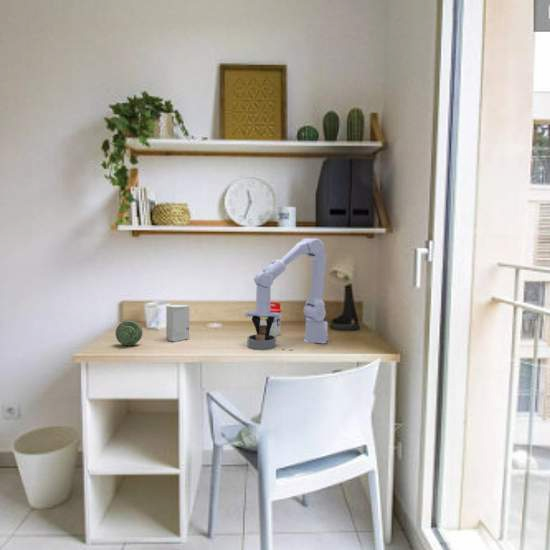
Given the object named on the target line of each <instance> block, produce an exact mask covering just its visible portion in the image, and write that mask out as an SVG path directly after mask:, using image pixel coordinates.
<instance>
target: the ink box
mask: <svg viewBox="0 0 550 550" xmlns="http://www.w3.org/2000/svg"><path fill="white" fill-rule="evenodd" d="M270 312H276V313H281V314H282V310H281V302H275V301H270ZM267 318H268V317H261V318H260V325H266V326H267V322H266V319H267ZM281 321H282V317H281V318H280V319H279V318H275V319H274V321H273V324H272V326H271V329H270V334H269V335H272V336H275V337H278V336H280V335H281Z"/></svg>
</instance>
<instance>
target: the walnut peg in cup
mask: <svg viewBox="0 0 550 550" xmlns="http://www.w3.org/2000/svg"><path fill="white" fill-rule="evenodd" d="M256 334H257V333H256ZM256 334H255V335H256ZM256 340H259V341H265V335H264V334H257V335H256Z"/></svg>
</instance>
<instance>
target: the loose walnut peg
mask: <svg viewBox="0 0 550 550" xmlns="http://www.w3.org/2000/svg"><path fill="white" fill-rule="evenodd" d="M259 334H264V335H265V339H268V336H267V326H266V325H260V326H259Z"/></svg>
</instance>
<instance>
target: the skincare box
mask: <svg viewBox="0 0 550 550" xmlns="http://www.w3.org/2000/svg"><path fill="white" fill-rule="evenodd" d="M165 309H166V311H165V312H166V316H165V317H166V319H165V321H166V324H165V326H166V328H165V329H166V333H165V335H166V337H165V338H166V340H167V341H169V342H172V341H173V342H172V343H174V341H175V342H180V341H179V340H181V341H185V339H187V340H189V339H190V305H186V304H171V305H166V308H165Z"/></svg>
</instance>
